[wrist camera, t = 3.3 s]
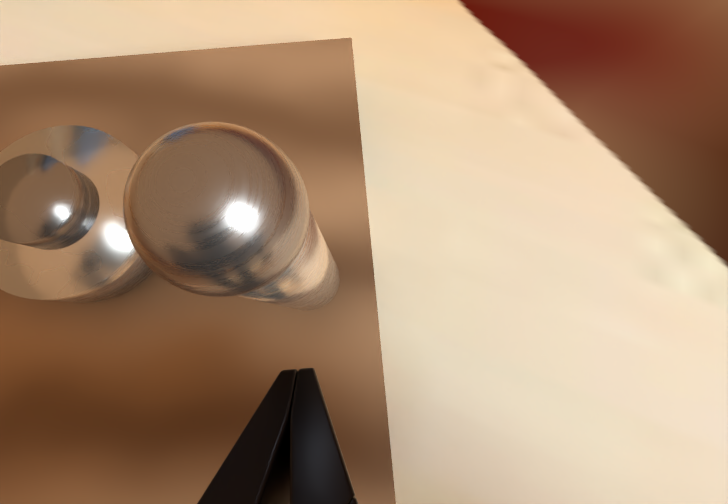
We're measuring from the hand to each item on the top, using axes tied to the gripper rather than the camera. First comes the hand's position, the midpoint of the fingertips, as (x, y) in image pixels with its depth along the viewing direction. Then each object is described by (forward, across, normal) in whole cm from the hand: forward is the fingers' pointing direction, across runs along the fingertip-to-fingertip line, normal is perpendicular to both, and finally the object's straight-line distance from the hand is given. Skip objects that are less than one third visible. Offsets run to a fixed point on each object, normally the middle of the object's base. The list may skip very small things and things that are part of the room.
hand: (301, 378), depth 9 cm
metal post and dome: (+7, +8, -1) cm, 11 cm away
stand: (+8, +8, +2) cm, 11 cm away
